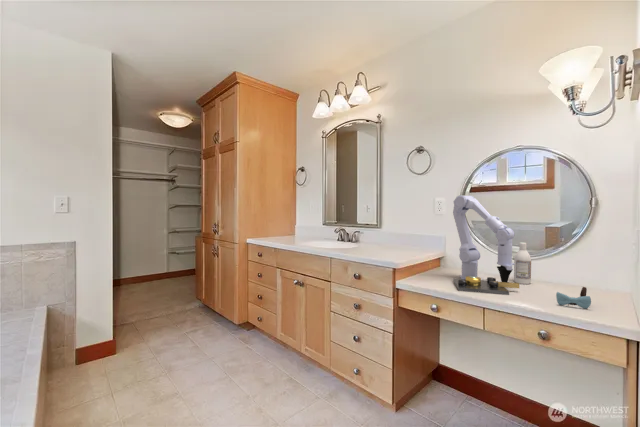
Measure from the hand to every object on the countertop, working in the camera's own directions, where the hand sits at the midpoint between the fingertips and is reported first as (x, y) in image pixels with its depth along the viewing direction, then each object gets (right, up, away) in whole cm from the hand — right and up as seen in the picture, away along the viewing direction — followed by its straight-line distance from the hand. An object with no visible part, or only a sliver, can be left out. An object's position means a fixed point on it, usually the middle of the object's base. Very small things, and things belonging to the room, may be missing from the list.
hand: (504, 282), depth 137 cm
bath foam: (+14, -2, +8) cm, 16 cm away
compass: (+13, -4, -22) cm, 26 cm away
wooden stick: (-4, -1, -6) cm, 7 cm away
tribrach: (-12, -3, 0) cm, 12 cm away
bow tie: (+9, -4, -26) cm, 28 cm away
